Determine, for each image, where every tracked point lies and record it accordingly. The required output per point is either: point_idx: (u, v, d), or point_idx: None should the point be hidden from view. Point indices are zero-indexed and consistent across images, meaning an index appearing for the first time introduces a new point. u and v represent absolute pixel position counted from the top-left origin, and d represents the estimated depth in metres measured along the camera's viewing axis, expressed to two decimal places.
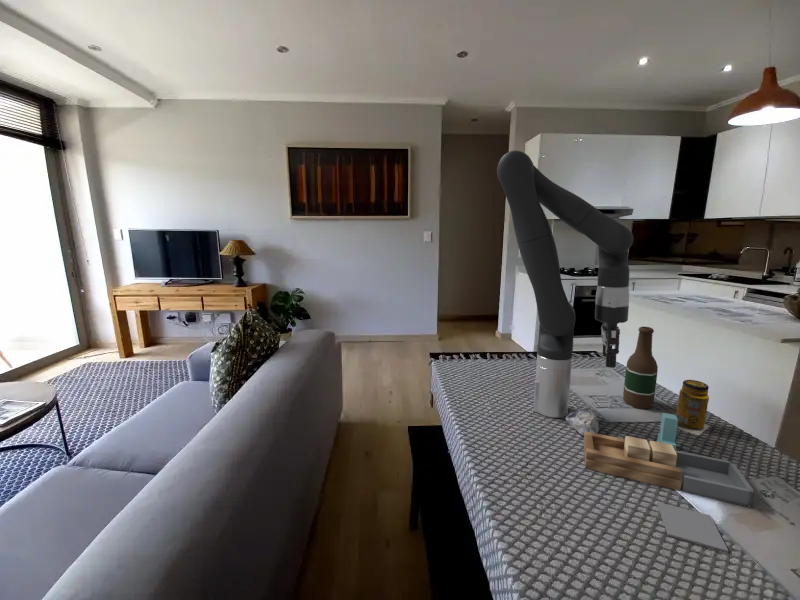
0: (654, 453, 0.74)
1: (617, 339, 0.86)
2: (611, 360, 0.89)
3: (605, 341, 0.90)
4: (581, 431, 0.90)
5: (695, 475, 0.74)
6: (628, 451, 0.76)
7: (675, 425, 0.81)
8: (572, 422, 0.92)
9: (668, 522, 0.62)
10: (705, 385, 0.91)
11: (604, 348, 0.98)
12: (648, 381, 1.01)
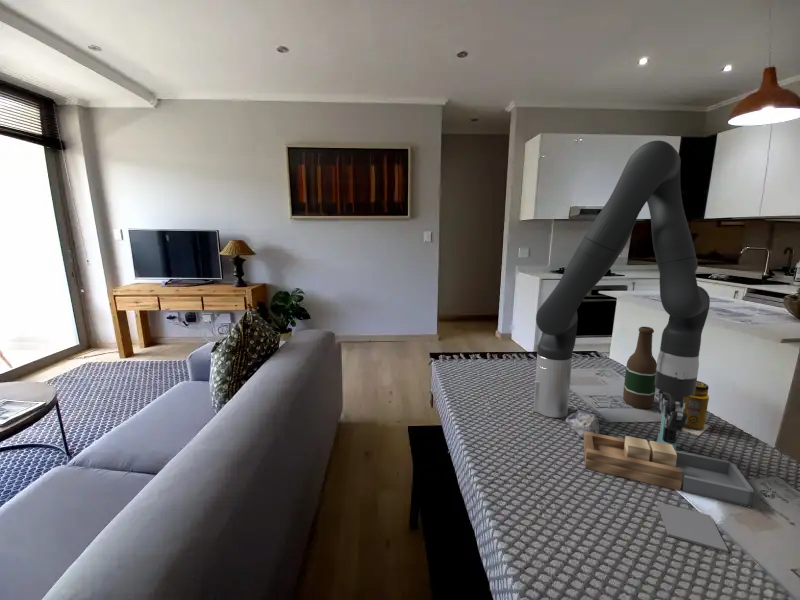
0: (654, 453, 0.74)
1: (682, 421, 0.77)
2: (671, 436, 0.81)
3: (666, 415, 0.81)
4: (580, 433, 0.89)
5: (695, 475, 0.74)
6: (628, 451, 0.76)
7: None
8: (572, 424, 0.92)
9: (668, 522, 0.62)
10: (705, 385, 0.91)
11: None
12: (648, 381, 1.01)
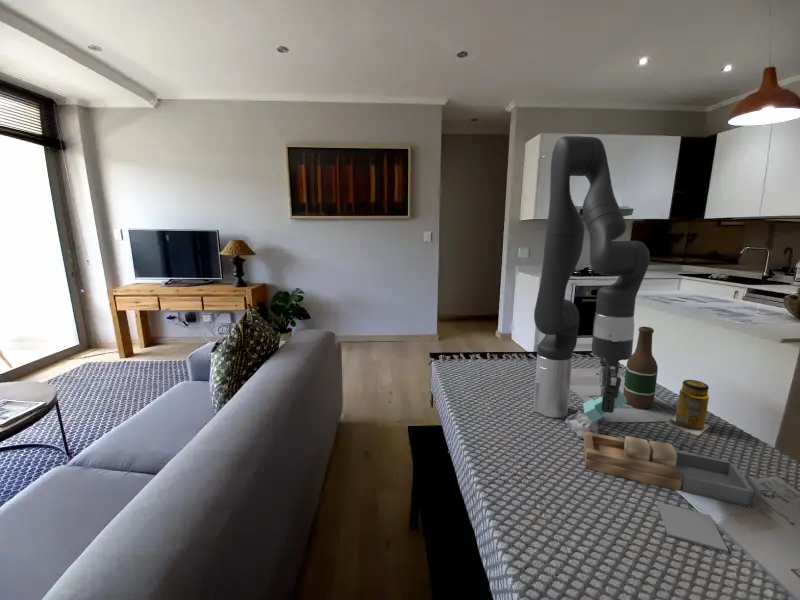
0: (654, 453, 0.74)
1: (617, 387, 0.71)
2: (608, 404, 0.76)
3: (602, 383, 0.76)
4: (580, 434, 0.88)
5: (695, 475, 0.74)
6: (628, 451, 0.76)
7: (619, 404, 0.76)
8: (571, 424, 0.91)
9: (668, 522, 0.62)
10: (705, 385, 0.91)
11: None
12: (648, 381, 1.01)
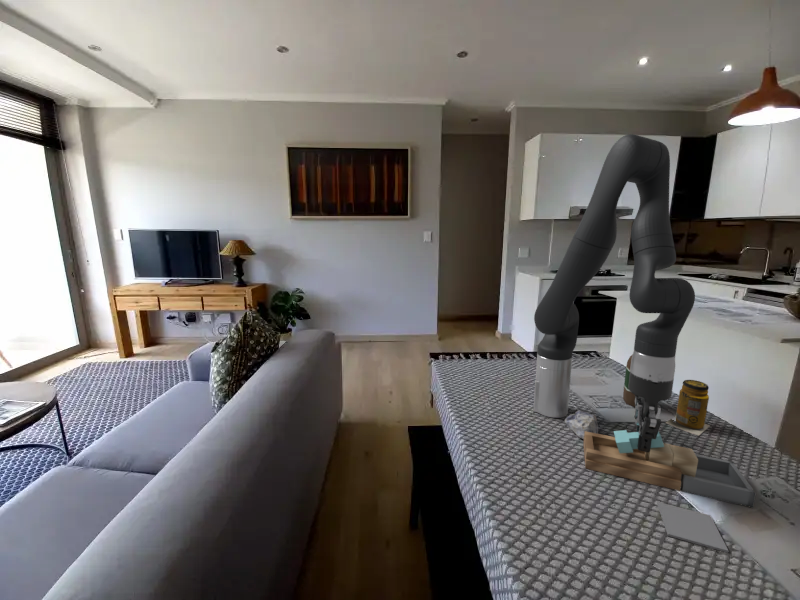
0: (674, 457, 0.72)
1: (656, 429, 0.70)
2: (645, 444, 0.74)
3: (640, 422, 0.74)
4: (579, 433, 0.89)
5: (695, 475, 0.74)
6: (650, 456, 0.74)
7: (655, 446, 0.74)
8: (570, 424, 0.91)
9: (668, 522, 0.62)
10: (705, 385, 0.91)
11: None
12: None
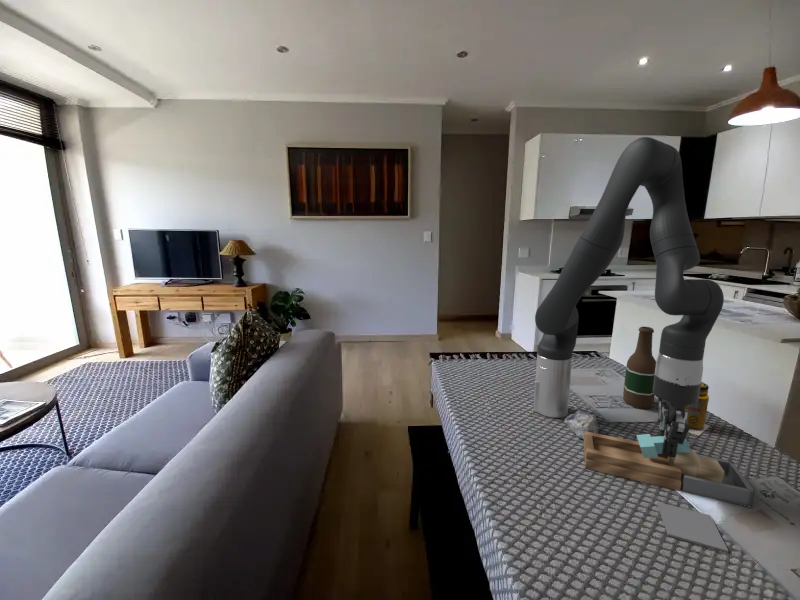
0: (699, 468, 0.71)
1: (684, 434, 0.68)
2: (671, 449, 0.72)
3: (665, 426, 0.72)
4: (579, 433, 0.89)
5: None
6: (675, 461, 0.73)
7: (681, 450, 0.72)
8: (570, 424, 0.91)
9: (668, 522, 0.62)
10: (705, 385, 0.91)
11: None
12: (648, 381, 1.01)
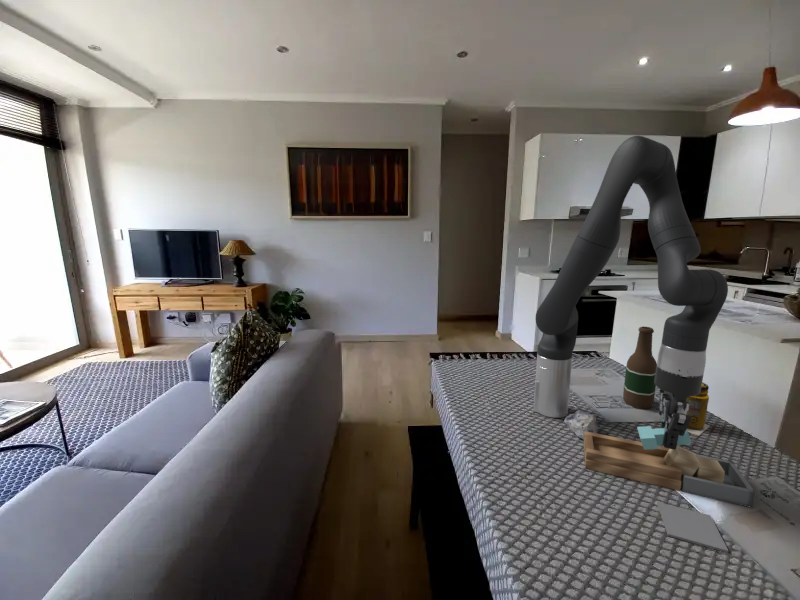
0: (700, 469, 0.71)
1: (685, 425, 0.67)
2: (671, 441, 0.71)
3: (666, 418, 0.71)
4: (578, 433, 0.89)
5: None
6: (675, 459, 0.73)
7: (682, 443, 0.72)
8: (570, 424, 0.91)
9: (668, 522, 0.62)
10: (705, 385, 0.91)
11: None
12: (648, 381, 1.01)
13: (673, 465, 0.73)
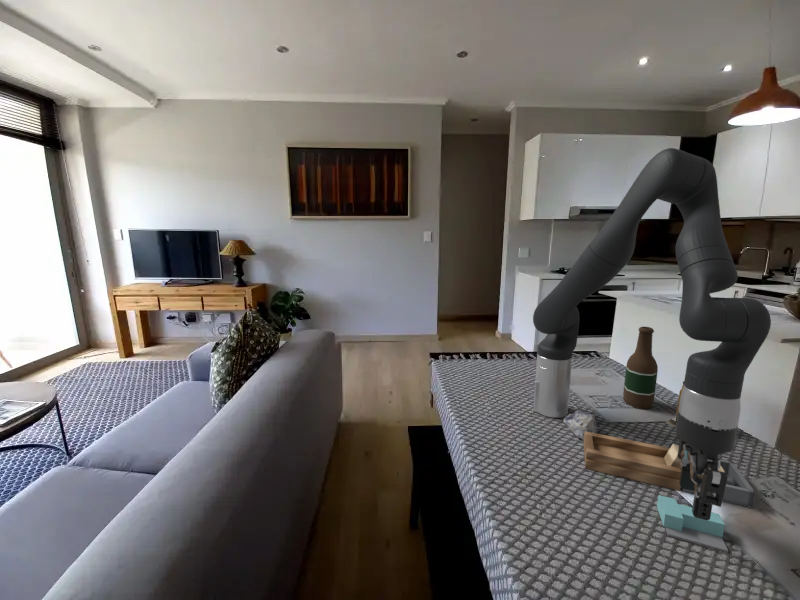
0: None
1: (722, 487, 0.53)
2: (704, 510, 0.57)
3: (695, 478, 0.57)
4: (577, 433, 0.89)
5: None
6: (675, 459, 0.73)
7: (711, 532, 0.60)
8: (569, 424, 0.92)
9: None
10: None
11: (684, 477, 0.64)
12: (648, 381, 1.01)
13: (673, 465, 0.73)
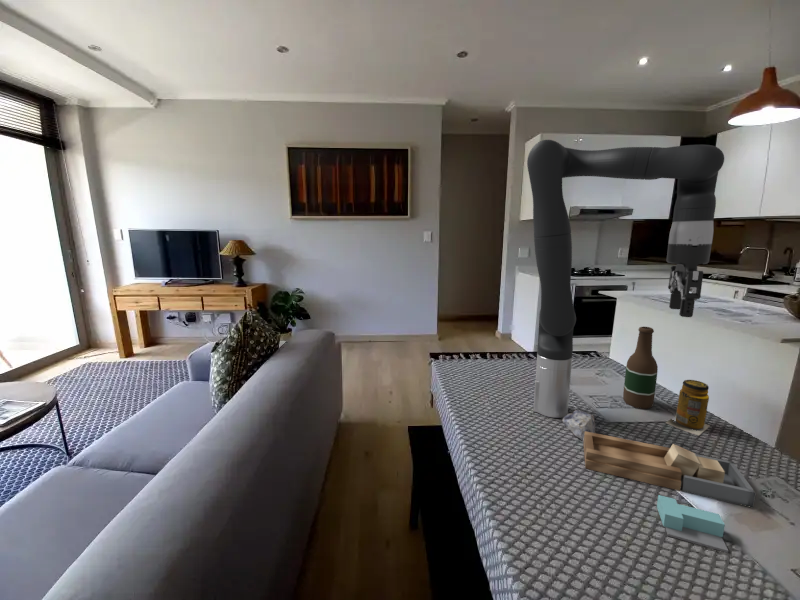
0: (700, 469, 0.71)
1: (700, 281, 0.73)
2: (688, 308, 0.76)
3: (681, 286, 0.77)
4: (576, 433, 0.89)
5: None
6: (675, 459, 0.73)
7: (711, 532, 0.60)
8: (568, 424, 0.92)
9: None
10: (705, 385, 0.91)
11: (672, 299, 0.84)
12: (648, 381, 1.01)
13: (673, 465, 0.73)
